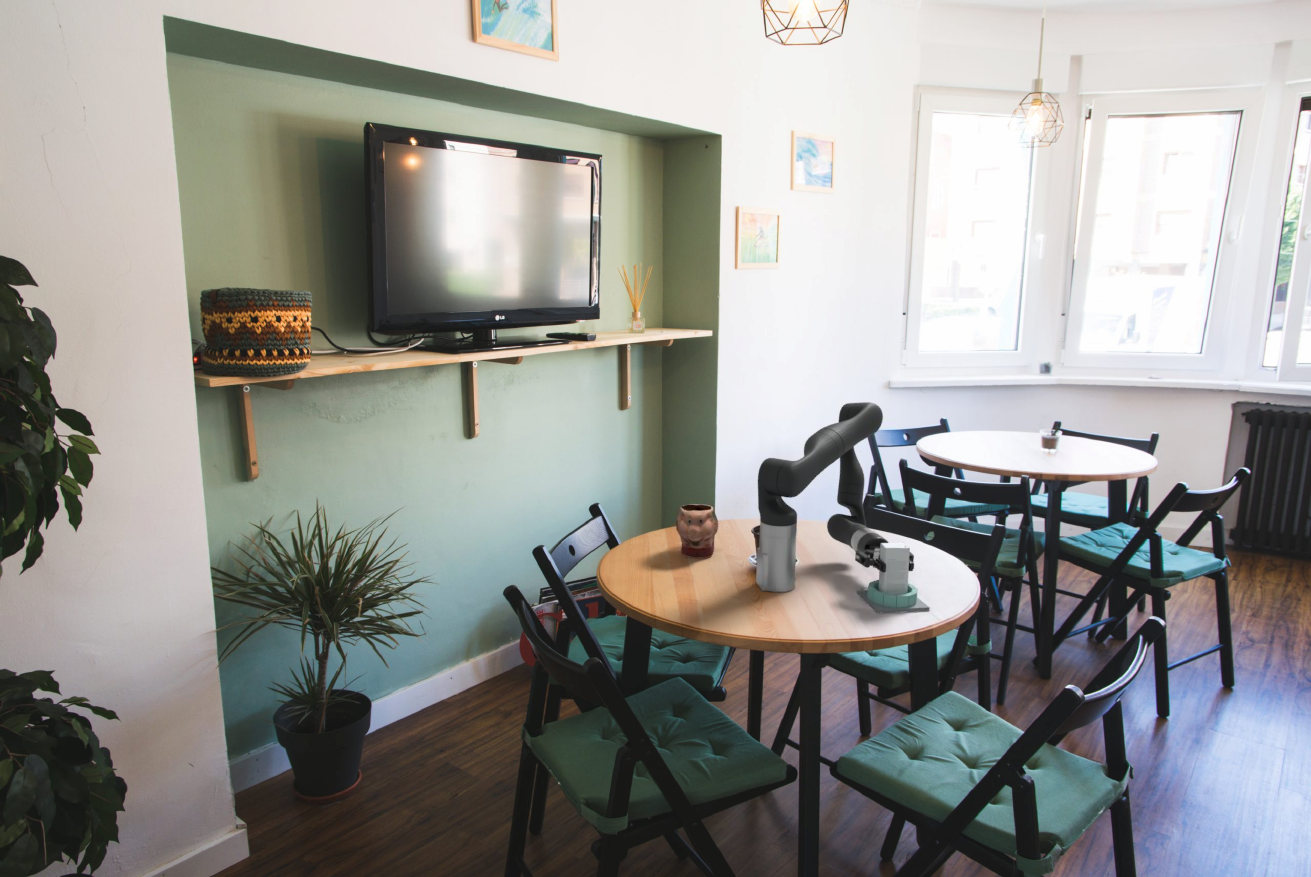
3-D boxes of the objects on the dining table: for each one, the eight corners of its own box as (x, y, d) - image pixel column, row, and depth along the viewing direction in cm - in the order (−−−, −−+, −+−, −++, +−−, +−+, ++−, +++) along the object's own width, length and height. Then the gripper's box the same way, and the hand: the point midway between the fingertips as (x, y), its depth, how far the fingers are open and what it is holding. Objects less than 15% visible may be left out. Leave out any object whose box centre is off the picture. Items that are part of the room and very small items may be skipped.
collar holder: (877, 613, 189) (878, 598, 188) (856, 593, 202) (856, 579, 201) (929, 610, 191) (930, 596, 190) (905, 590, 203) (905, 577, 203)
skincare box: (901, 588, 198) (904, 542, 196) (907, 595, 194) (910, 547, 192) (877, 589, 198) (880, 542, 196) (882, 595, 194) (885, 548, 191)
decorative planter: (675, 541, 243) (676, 497, 241) (715, 542, 243) (716, 497, 241) (676, 563, 224) (676, 515, 221) (719, 563, 223) (720, 515, 221)
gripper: (844, 533, 207) (870, 554, 190) (897, 531, 209) (927, 551, 193) (843, 561, 208) (868, 584, 192) (895, 558, 210) (925, 581, 194)
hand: (898, 567), depth 192 cm, fingers closed on skincare box, 6 cm apart
